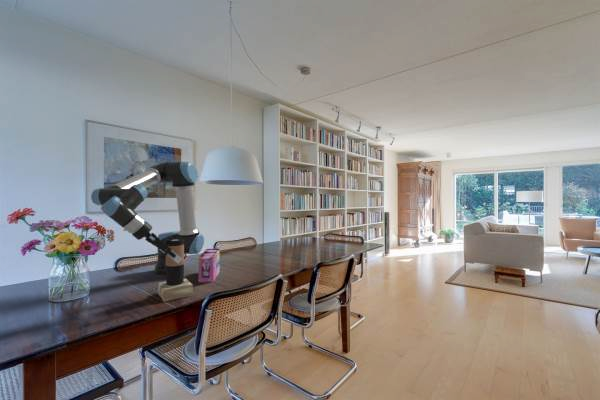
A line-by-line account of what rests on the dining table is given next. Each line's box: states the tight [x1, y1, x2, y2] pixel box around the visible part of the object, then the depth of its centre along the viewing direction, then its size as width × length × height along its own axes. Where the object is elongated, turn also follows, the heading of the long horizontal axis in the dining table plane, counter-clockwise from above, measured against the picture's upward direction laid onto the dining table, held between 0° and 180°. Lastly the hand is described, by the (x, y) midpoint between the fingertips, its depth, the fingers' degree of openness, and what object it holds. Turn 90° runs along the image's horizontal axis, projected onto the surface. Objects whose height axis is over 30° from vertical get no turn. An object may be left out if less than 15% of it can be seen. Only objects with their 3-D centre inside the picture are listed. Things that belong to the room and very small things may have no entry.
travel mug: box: [165, 238, 185, 286], centre depth 127 cm, size 8×8×20 cm
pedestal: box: [157, 277, 194, 302], centre depth 127 cm, size 12×12×5 cm
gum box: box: [197, 248, 221, 283], centre depth 156 cm, size 24×8×14 cm, turn 8°
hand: (176, 258), depth 127 cm, fingers open, 13 cm apart
